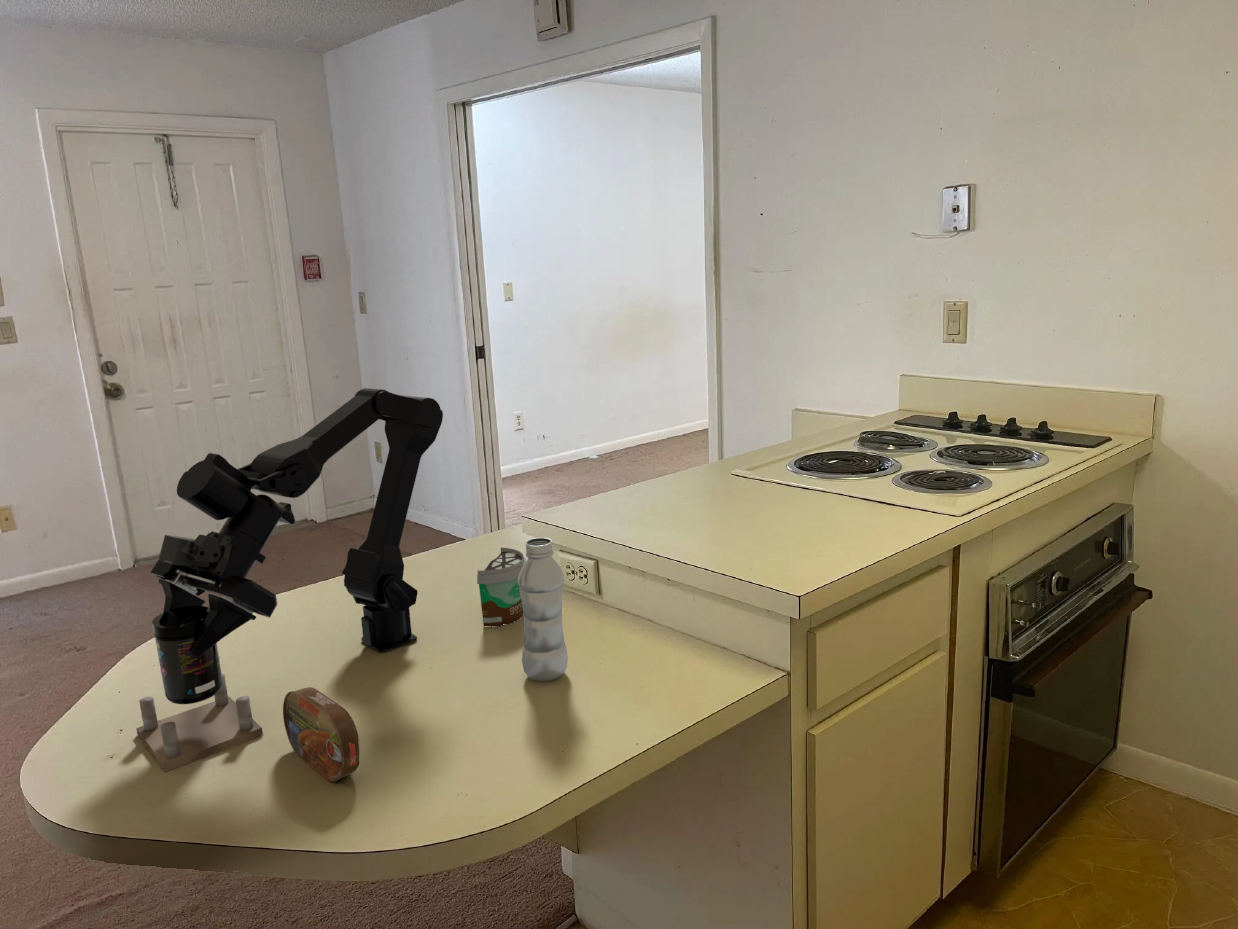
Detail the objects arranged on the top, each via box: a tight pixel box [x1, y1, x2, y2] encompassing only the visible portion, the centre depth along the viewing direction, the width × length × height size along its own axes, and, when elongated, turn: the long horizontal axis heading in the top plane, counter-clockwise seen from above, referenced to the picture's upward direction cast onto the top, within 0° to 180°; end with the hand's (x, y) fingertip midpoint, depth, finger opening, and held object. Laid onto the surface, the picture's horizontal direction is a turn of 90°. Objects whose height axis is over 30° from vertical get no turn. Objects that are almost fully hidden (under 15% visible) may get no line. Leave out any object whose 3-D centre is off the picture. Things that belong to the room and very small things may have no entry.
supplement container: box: [151, 605, 223, 705], centre depth 111 cm, size 7×7×10 cm
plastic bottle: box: [518, 537, 569, 682], centre depth 124 cm, size 6×7×20 cm
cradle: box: [135, 673, 264, 773], centre depth 113 cm, size 12×12×5 cm
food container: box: [476, 546, 527, 628], centre depth 146 cm, size 12×6×10 cm, turn 168°
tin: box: [282, 686, 361, 782], centre depth 105 cm, size 15×3×8 cm, turn 45°
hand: (176, 648), depth 109 cm, fingers closed on supplement container, 7 cm apart
